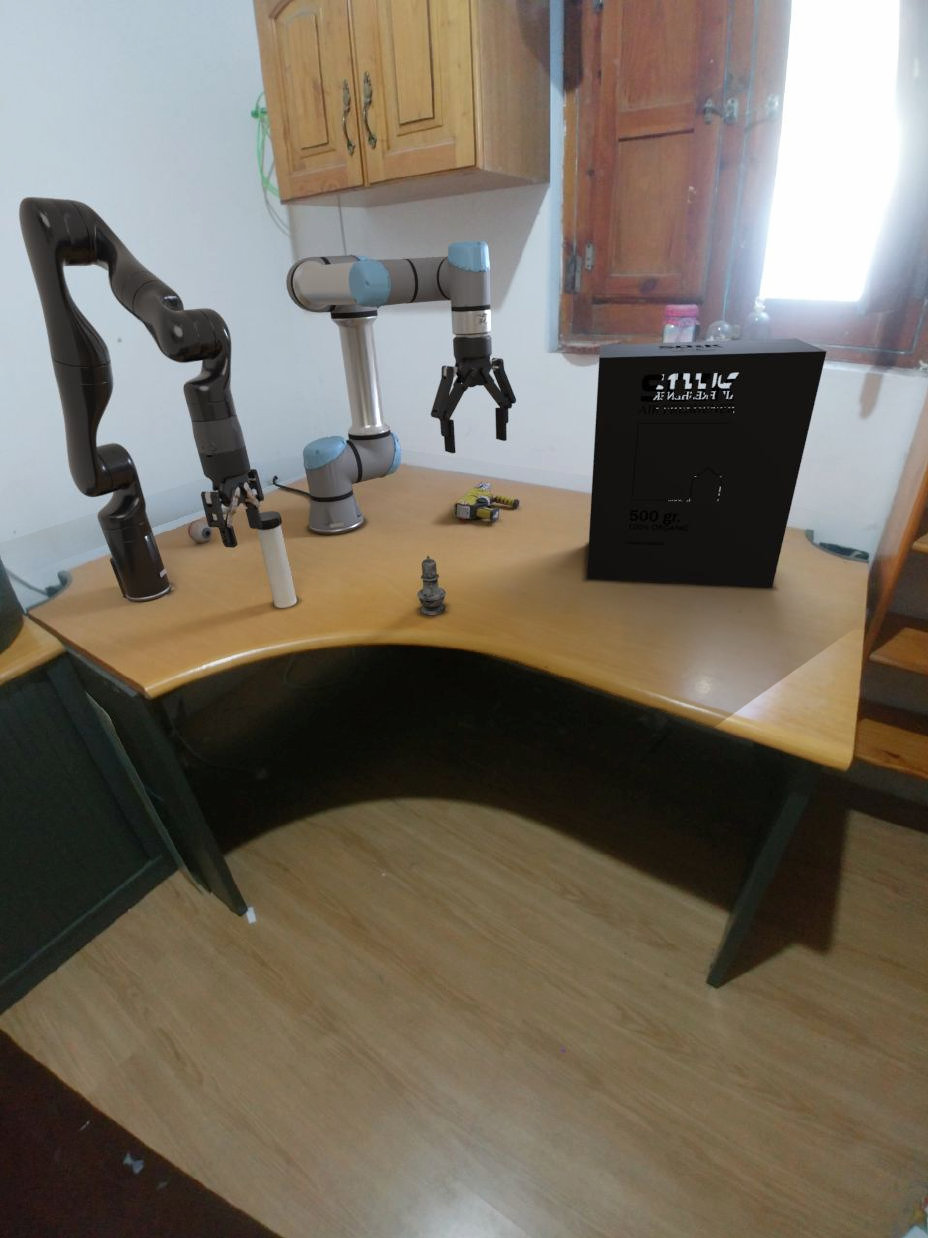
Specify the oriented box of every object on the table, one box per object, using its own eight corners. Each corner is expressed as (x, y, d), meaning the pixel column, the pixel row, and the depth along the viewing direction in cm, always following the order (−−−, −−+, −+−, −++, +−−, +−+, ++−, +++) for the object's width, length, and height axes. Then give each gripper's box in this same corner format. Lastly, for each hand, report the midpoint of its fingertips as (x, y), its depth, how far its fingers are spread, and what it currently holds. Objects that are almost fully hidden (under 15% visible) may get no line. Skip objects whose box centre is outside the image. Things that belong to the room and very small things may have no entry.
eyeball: (201, 547, 160) (195, 526, 157) (186, 543, 163) (180, 522, 160) (220, 539, 164) (214, 518, 161) (205, 536, 167) (199, 515, 164)
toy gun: (527, 487, 180) (480, 479, 184) (505, 511, 160) (452, 502, 164) (526, 502, 182) (479, 494, 186) (504, 527, 162) (452, 519, 166)
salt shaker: (443, 616, 121) (439, 562, 115) (415, 615, 122) (409, 561, 116) (449, 602, 126) (446, 549, 120) (422, 601, 127) (417, 548, 121)
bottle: (287, 595, 133) (268, 512, 124) (301, 600, 131) (283, 516, 121) (270, 604, 130) (249, 519, 120) (284, 609, 127) (264, 523, 118)
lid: (270, 517, 125) (268, 509, 124) (288, 522, 122) (286, 513, 121) (248, 526, 121) (245, 518, 120) (265, 531, 118) (263, 522, 117)
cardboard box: (752, 548, 142) (795, 338, 119) (772, 587, 124) (826, 351, 102) (589, 543, 149) (600, 344, 127) (586, 579, 132) (599, 357, 110)
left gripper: (224, 434, 106) (246, 522, 114) (174, 456, 94) (202, 552, 102) (263, 434, 104) (282, 523, 112) (217, 457, 92) (242, 554, 100)
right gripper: (429, 342, 108) (437, 460, 118) (533, 329, 120) (532, 437, 131) (407, 340, 113) (417, 454, 124) (508, 328, 125) (510, 432, 136)
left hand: (244, 537), depth 107 cm, fingers open, 8 cm apart
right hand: (476, 445), depth 127 cm, fingers open, 13 cm apart
